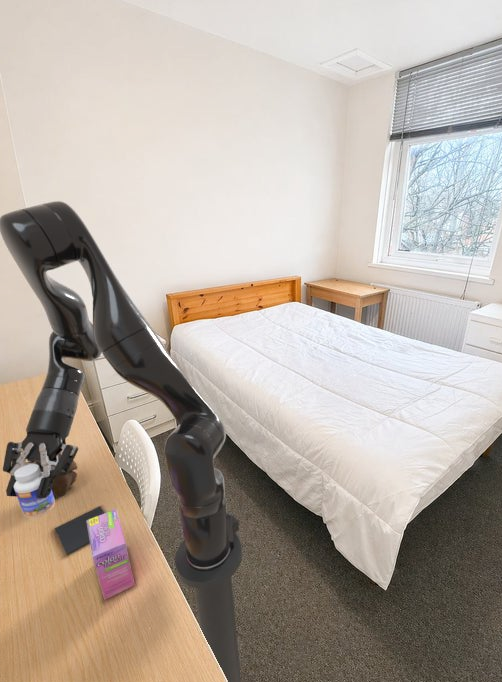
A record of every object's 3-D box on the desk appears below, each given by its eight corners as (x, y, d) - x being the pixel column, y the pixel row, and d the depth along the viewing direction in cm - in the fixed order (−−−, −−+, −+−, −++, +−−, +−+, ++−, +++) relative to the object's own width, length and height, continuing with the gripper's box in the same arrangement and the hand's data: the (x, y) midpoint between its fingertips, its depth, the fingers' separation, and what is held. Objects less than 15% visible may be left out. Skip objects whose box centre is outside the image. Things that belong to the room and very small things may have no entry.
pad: (100, 507, 90) (99, 505, 90) (115, 529, 83) (114, 527, 83) (55, 529, 83) (54, 528, 83) (67, 555, 77) (66, 554, 77)
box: (136, 585, 71) (125, 542, 66) (104, 601, 68) (91, 557, 63) (126, 548, 78) (116, 508, 74) (98, 561, 76) (85, 519, 71)
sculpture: (83, 461, 101) (69, 436, 90) (81, 497, 95) (66, 475, 84) (39, 468, 98) (19, 443, 86) (34, 506, 92) (12, 485, 80)
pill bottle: (23, 522, 68) (7, 483, 65) (24, 505, 73) (9, 467, 69) (56, 511, 71) (42, 472, 67) (55, 495, 75) (43, 458, 72)
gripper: (8, 407, 72) (-26, 494, 65) (75, 409, 71) (48, 498, 65) (35, 416, 79) (7, 496, 72) (96, 418, 78) (74, 499, 71)
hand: (26, 496), depth 68 cm, fingers closed on pill bottle, 5 cm apart
